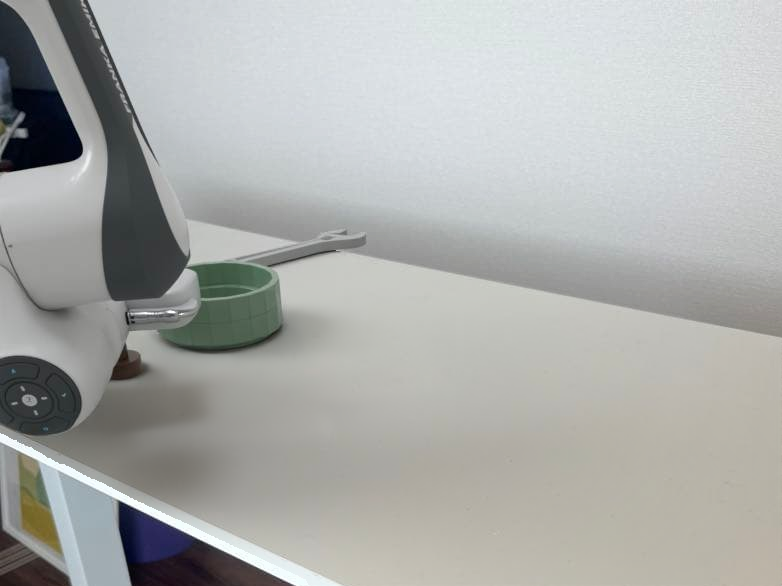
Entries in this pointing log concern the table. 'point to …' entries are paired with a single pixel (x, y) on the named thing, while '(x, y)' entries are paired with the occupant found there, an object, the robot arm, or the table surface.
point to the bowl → (231, 306)
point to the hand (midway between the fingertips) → (102, 274)
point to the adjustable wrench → (306, 248)
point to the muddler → (127, 364)
